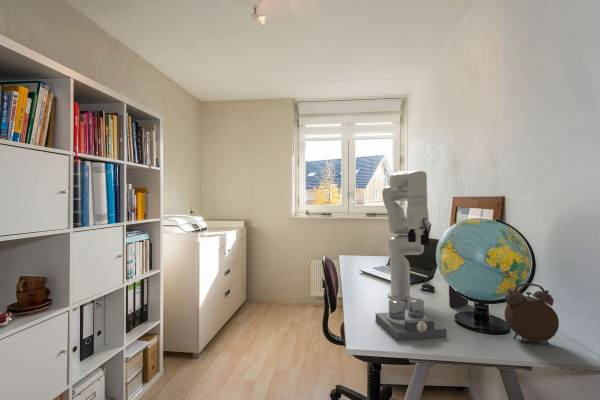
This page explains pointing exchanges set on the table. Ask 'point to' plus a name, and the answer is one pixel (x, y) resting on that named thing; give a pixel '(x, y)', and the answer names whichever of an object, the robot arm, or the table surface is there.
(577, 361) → the table surface
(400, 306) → the cylinder
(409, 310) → the cylinder
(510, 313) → the alarm clock
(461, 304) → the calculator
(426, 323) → the scale
